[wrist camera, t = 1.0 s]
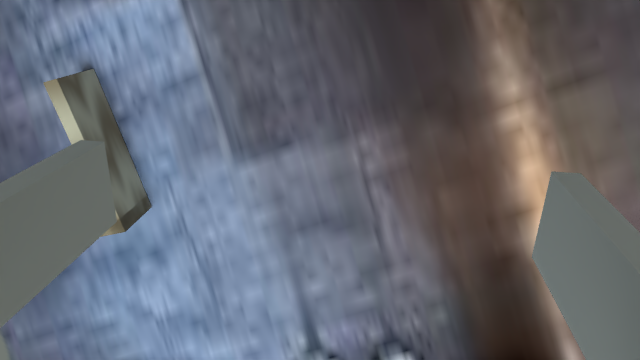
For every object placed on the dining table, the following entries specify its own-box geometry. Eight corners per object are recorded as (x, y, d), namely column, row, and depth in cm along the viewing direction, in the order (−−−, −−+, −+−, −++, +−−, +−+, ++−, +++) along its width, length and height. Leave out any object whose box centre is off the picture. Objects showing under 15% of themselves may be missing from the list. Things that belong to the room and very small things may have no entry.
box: (-94, 122, 45) (-148, 137, 40) (93, 68, 41) (56, 78, 36) (-24, 244, 49) (-66, 270, 45) (151, 207, 45) (125, 231, 41)
